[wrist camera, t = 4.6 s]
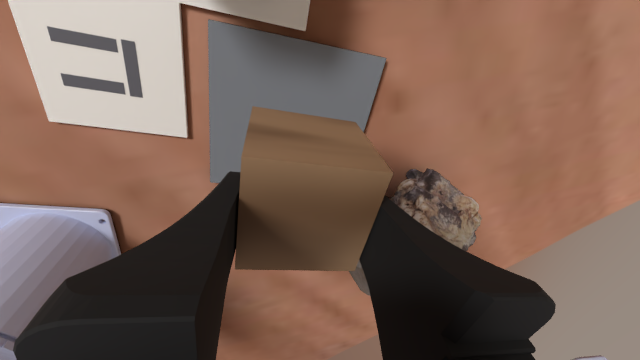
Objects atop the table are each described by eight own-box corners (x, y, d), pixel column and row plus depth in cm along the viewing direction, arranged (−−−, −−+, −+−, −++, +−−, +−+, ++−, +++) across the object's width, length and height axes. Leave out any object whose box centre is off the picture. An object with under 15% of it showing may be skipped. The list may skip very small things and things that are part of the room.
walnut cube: (332, 202, 16) (354, 270, 12) (246, 195, 15) (234, 269, 10) (355, 121, 13) (393, 172, 9) (252, 106, 12) (241, 156, 8)
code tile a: (188, 136, 19) (187, 137, 18) (52, 119, 17) (49, 121, 17) (180, 2, 15) (178, 2, 14) (-1, -39, 13) (-7, -40, 12)
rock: (413, 213, 30) (514, 222, 22) (365, 308, 26) (469, 366, 17) (366, 159, 27) (466, 145, 18) (302, 259, 22) (394, 302, 14)
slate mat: (343, 191, 23) (344, 193, 23) (211, 179, 21) (210, 182, 20) (384, 57, 18) (386, 58, 17) (209, 19, 15) (208, 19, 15)
